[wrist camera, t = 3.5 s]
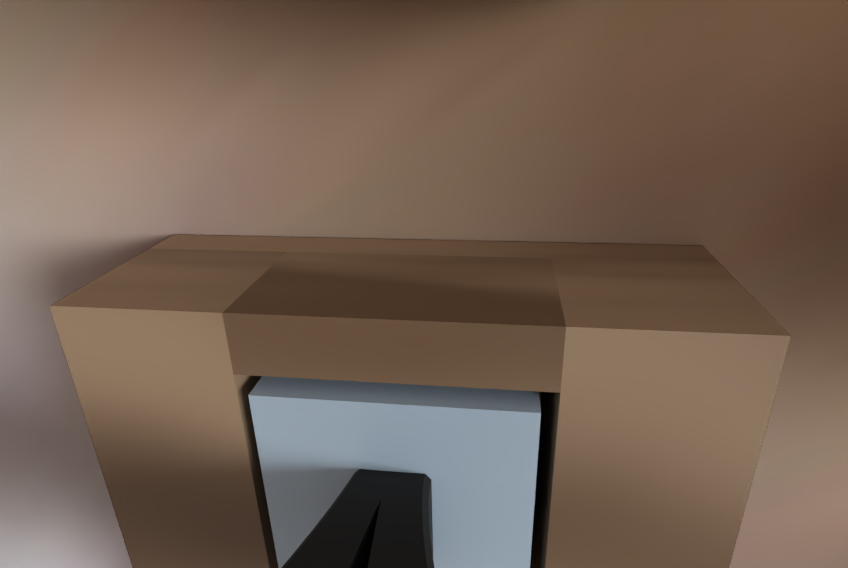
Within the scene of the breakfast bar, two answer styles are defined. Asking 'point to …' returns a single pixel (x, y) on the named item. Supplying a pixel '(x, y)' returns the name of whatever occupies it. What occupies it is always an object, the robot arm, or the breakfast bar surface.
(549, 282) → the key panel
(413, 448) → the slate key
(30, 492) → the breakfast bar surface
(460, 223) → the breakfast bar surface
